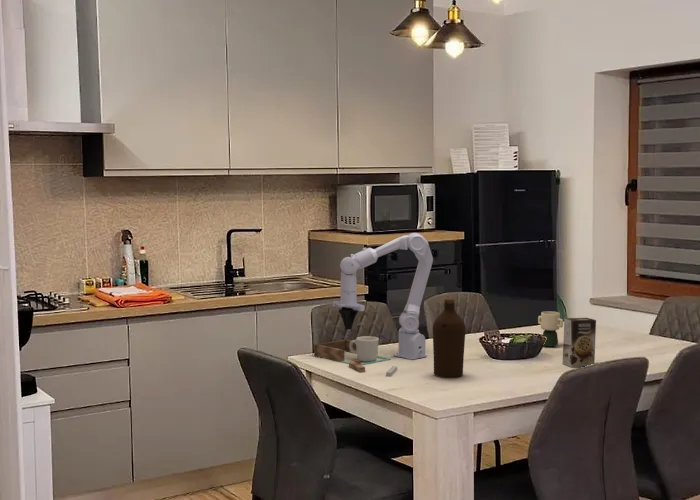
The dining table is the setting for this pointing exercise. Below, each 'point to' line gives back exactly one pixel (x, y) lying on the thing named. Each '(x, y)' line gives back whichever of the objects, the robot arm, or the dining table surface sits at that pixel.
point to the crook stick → (357, 365)
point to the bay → (371, 362)
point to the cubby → (333, 349)
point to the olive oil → (448, 342)
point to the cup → (365, 348)
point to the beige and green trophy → (550, 326)
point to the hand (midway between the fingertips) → (348, 329)
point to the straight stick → (391, 371)
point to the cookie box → (579, 342)
